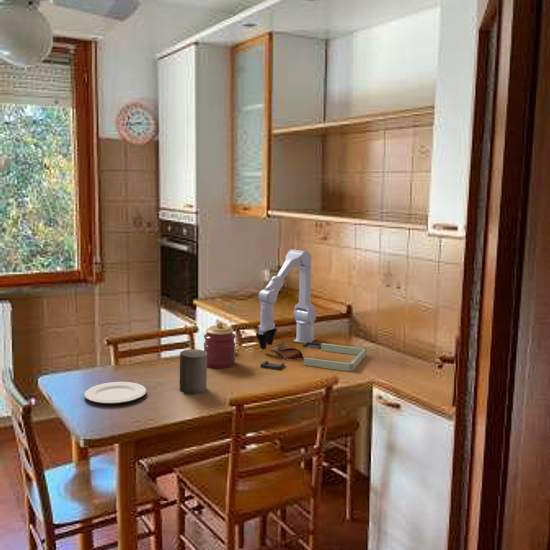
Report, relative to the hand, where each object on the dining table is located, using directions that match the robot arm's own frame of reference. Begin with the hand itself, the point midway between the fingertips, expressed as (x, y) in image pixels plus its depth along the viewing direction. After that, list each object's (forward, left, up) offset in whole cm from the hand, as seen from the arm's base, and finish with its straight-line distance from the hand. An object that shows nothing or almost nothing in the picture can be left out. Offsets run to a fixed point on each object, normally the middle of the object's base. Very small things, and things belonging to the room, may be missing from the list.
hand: (266, 346), depth 269 cm
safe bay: (0, +32, -2) cm, 32 cm away
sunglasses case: (+1, +9, -3) cm, 9 cm away
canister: (+26, -10, -2) cm, 28 cm away
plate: (+74, -26, -2) cm, 79 cm away
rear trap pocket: (-15, +17, -2) cm, 23 cm away
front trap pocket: (+20, +11, -2) cm, 23 cm away
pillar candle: (+57, -5, -2) cm, 57 cm away
